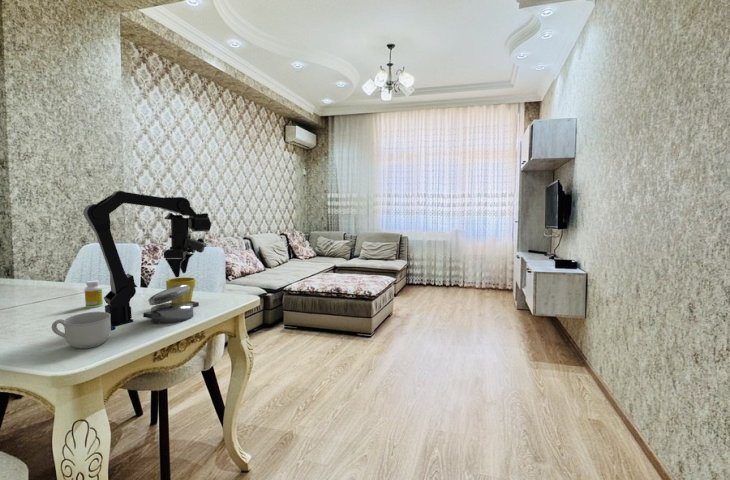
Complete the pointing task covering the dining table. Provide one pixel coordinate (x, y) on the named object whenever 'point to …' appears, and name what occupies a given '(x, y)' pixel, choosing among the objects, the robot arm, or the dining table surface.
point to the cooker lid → (169, 294)
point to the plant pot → (182, 281)
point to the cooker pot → (171, 312)
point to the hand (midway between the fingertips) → (180, 275)
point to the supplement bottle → (93, 294)
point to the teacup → (85, 329)
